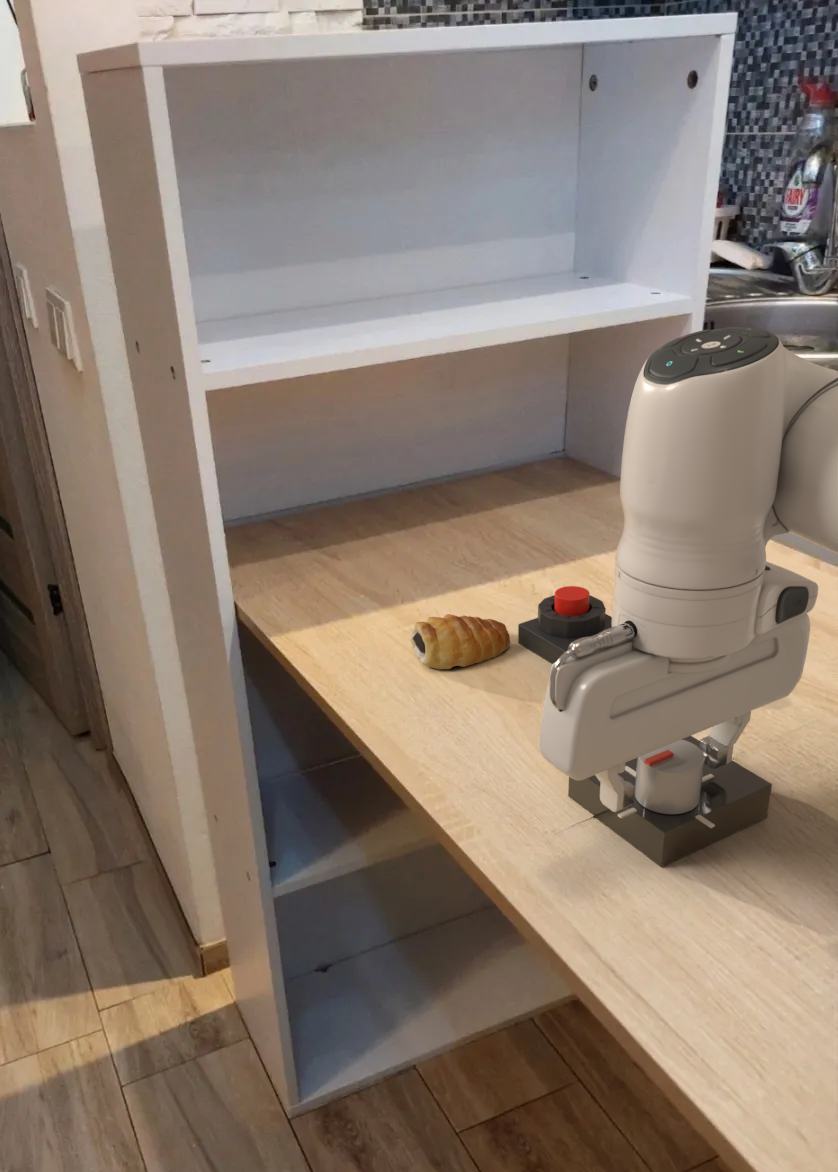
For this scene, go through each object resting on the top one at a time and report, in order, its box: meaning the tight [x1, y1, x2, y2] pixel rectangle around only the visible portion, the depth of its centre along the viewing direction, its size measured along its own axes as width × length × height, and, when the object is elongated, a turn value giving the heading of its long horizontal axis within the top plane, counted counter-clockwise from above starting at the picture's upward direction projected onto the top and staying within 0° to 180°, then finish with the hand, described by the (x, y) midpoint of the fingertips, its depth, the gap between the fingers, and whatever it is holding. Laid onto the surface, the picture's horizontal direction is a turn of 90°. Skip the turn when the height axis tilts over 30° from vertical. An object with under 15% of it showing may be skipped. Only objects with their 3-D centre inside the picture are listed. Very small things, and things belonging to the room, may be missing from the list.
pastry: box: [409, 613, 511, 671], centre depth 98 cm, size 9×7×4 cm
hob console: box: [567, 735, 773, 868], centre depth 75 cm, size 11×11×3 cm
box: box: [517, 594, 612, 665], centre depth 96 cm, size 8×11×4 cm
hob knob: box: [635, 739, 705, 814], centre depth 71 cm, size 4×4×4 cm
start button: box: [554, 585, 591, 616], centre depth 97 cm, size 3×3×2 cm
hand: (666, 783), depth 72 cm, fingers open, 8 cm apart
